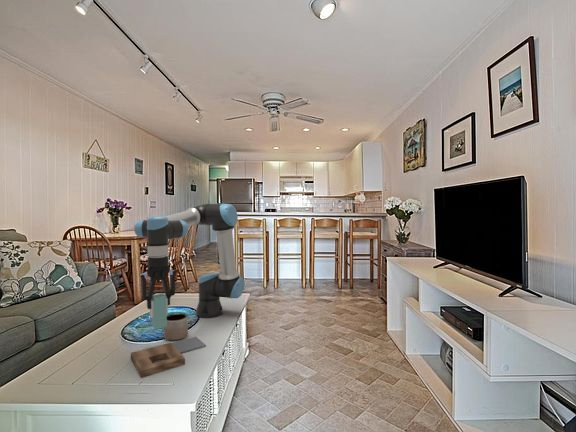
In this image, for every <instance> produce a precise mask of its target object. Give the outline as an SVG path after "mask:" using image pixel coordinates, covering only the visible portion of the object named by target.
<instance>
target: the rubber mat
mask: <svg viewBox="0 0 576 432" xmlns="http://www.w3.org/2000/svg"><path fill="white" fill-rule="evenodd" d="M170 343H171V344H172V345H173V346H174V347H175V348H176V349H177V350H178V351H179V352H180V353H181V354H184V353H188V352H191V351H195V350H199V349H202V348H206V347H207V345H206V344H205V343H204V342H203V341H202V340H201V339H199V338H198V337H197V336H192V337H189V338H184V339H181V340H177V341H171V342H170Z"/></svg>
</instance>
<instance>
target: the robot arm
mask: <svg viewBox="0 0 576 432" xmlns="http://www.w3.org/2000/svg"><path fill="white" fill-rule="evenodd" d="M238 218H239V216H238V211H237V209H236V208H235V206H234V205H233V204H230V203H204V204H200V205H195V206H192V207H189V208H186V210H184V211H180V212H177V213H172V214H168V215H164V216H149V217H148V218H147V220H146V219H141V220H137V222H136V223H135V224H134V227H133V229H134V234H135V235H136V236H137V237H139V238H144V239H146V240H147V256H148V257H147V269H146V271H144V273H140V274H139V275H138V276H139V278H140V285H141V286H140V287H141V289H140V290H141V299H142V300H143V301H146V308H147V309H148V310H149V317H150V318H154V301H153V300H152V295H154V290H155V287H156V286H155V285H156V283H157V281H159V280H160V281H161V284H162V287H163V291H164V295H166V310H167V316H168V315H169V314H168V313H169V311H168V310H169V306H170V305H171V297H173V296H175V295H176V283H175V282H176V274H177V271H176V270H175V269H170V267H169V256H168V255H169V240H172V239H173V240H174V239H181V238H183V237H186V236H187V235H188V233H189V226H192V227H193V226H194V227H195V226H198V225H199V226H200V225H201V226H211V227H212V232H214V233H215V237H216V244H217V253H218V261H219V268H220V273H219V272H211V273H205V274H202V275H200V276H199V277H198V302H197V303H198V304H197V307H196V310H195V315H196V314H197V315H199V317H198V318H203V319H204V318H205V319H209V318H216V317H219V316H221V315H222V314H223V313H224V311H223V310H224V309H223V306H222V303H221V300H220V298H226V299H238V298H240V297H241V296H242V295H243V292H244V289H245V282H246V281H245V279H244V278H243V277H241V276H240V272H239V271H237V263H236V257H235V256H236V254H235V248H234V245H235V244H234V238H233V230H234V228H235V225H237V222H238ZM168 274H169V285H168V281H167V276H168ZM147 277H149V278H150V280H149V281H150V282H149V286H148V290H147V280H146V279H147Z"/></svg>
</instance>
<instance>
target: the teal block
mask: <svg viewBox="0 0 576 432" xmlns="http://www.w3.org/2000/svg"><path fill="white" fill-rule="evenodd" d="M152 300H153V301H154V318H151V317H150V318H151V323H150V324H151V326H152V328H153V329H154V330H157V329H160V328H164V327H166V326H167V316H168V315H167V310H166V295H165V293H163V292H162V293H157V294H153V295H152Z"/></svg>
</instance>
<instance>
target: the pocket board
mask: <svg viewBox="0 0 576 432" xmlns="http://www.w3.org/2000/svg"><path fill="white" fill-rule="evenodd" d="M171 343H172V342H167V343H164V344H160V345H156V346H155V345H154V346H152V347H148V348H144V349H140V350H137V351H132V352H130V360H131V362H132V364H133V366H134V367H135V370H136V371H137V373H138V374H139V376H140V378H141V379H142V378H145V377H148V376H151V375H154V374H158V373H160V372H164V371H168V370H170V369H174V368H177V367H180V366H181V367H182V366H185V364H186V357H185V356H184V355H183V353H180V352H179V351H178V350H177V349H176V348H175V347H174V346H173V345H172V344H171ZM155 362H156V363H155Z"/></svg>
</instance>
